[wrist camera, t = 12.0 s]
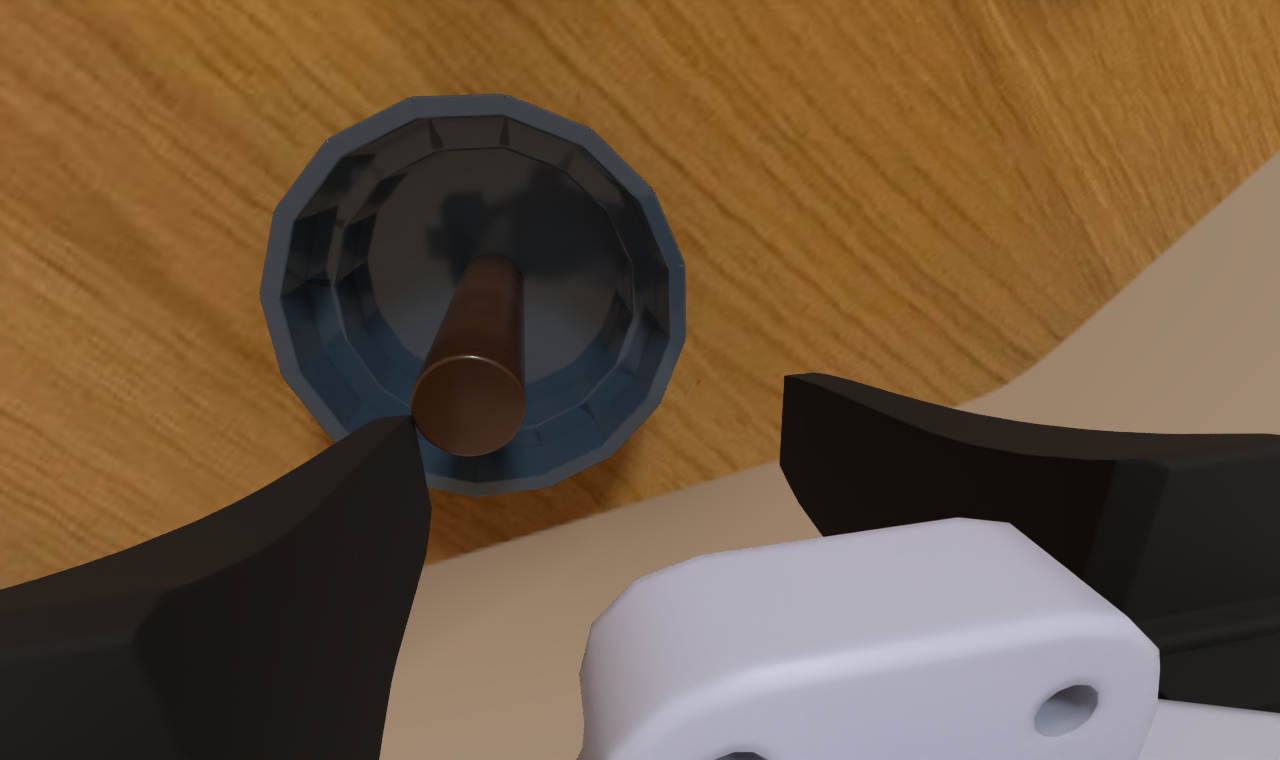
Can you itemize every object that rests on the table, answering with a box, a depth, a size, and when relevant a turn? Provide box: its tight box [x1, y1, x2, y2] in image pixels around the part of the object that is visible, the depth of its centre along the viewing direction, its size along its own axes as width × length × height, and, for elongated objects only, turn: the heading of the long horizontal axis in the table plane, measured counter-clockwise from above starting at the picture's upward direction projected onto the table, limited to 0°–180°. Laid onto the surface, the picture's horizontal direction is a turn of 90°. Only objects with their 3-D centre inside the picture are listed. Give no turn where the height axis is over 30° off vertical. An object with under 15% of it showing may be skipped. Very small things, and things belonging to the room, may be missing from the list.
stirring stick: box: [410, 254, 526, 456], centre depth 15 cm, size 2×2×10 cm
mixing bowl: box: [260, 94, 686, 497], centre depth 18 cm, size 11×11×4 cm
